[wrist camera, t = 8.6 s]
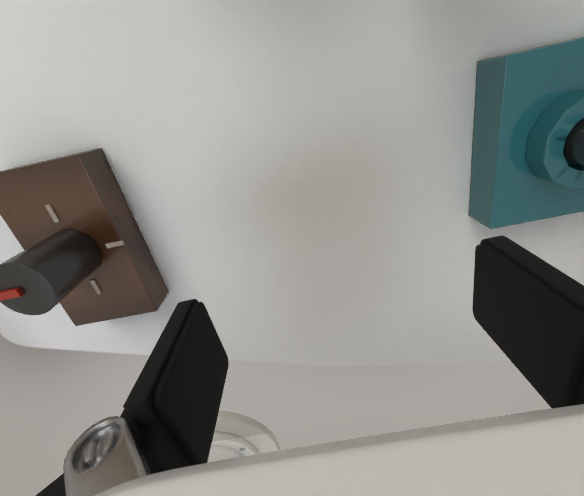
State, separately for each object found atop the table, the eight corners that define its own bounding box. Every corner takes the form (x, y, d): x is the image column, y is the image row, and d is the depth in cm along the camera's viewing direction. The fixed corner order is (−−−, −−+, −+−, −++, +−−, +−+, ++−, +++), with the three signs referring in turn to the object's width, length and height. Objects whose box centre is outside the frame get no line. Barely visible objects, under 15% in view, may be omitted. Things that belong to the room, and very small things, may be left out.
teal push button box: (585, 192, 26) (648, 211, 22) (468, 215, 27) (505, 238, 22) (624, 27, 21) (717, 7, 16) (477, 61, 22) (527, 50, 17)
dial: (86, 224, 23) (29, 260, 18) (110, 268, 25) (64, 312, 20) (39, 234, 24) (-31, 272, 18) (66, 277, 25) (9, 322, 20)
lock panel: (169, 292, 30) (157, 312, 27) (92, 306, 30) (73, 327, 27) (102, 147, 24) (77, 153, 21) (8, 169, 24) (-29, 178, 21)
